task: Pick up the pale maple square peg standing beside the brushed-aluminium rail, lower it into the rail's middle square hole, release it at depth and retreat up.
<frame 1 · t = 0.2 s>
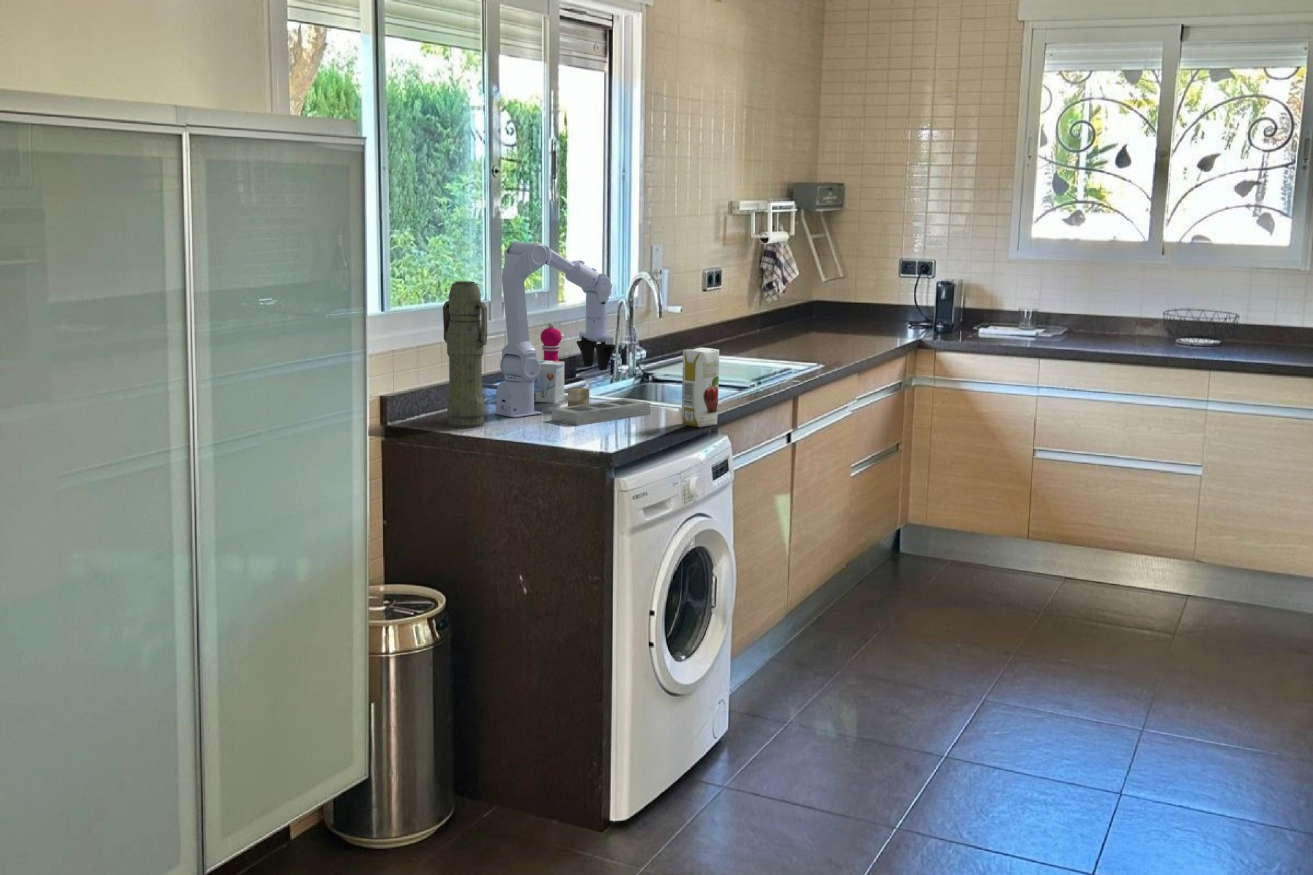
hand: (595, 368, 354), 10 cm above the counter, tool pointing down, fingers open, 7 cm apart
thermos: (465, 425, 322), on the counter
peg: (578, 410, 345), on the counter
pepper mill: (550, 392, 375), on the counter
light bulb box: (542, 401, 361), on the counter
rail: (601, 417, 336), on the counter
juice carton: (699, 425, 329), on the counter
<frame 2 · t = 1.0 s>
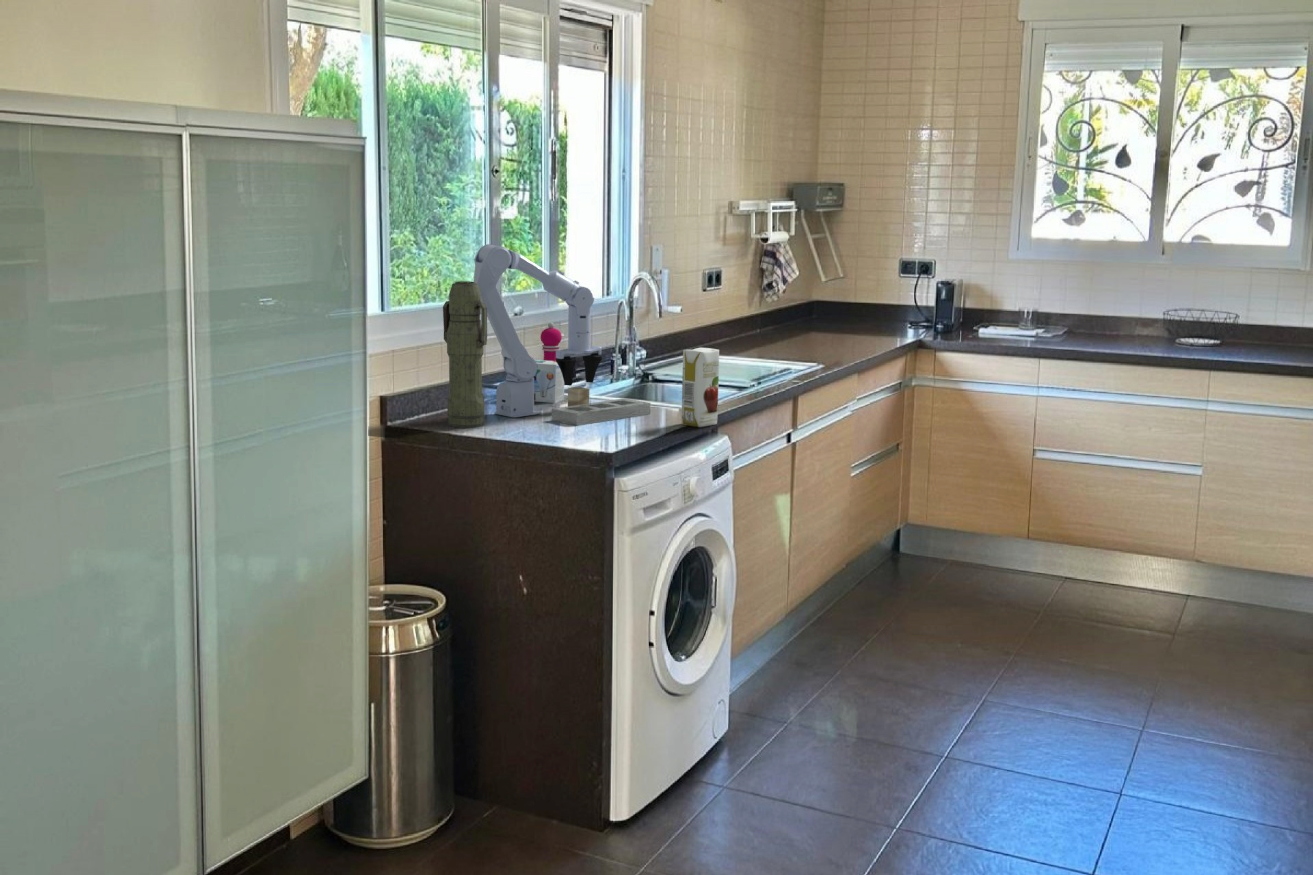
hand: (578, 383, 344), 7 cm above the counter, tool pointing down, fingers open, 7 cm apart
nothing on the counter moved.
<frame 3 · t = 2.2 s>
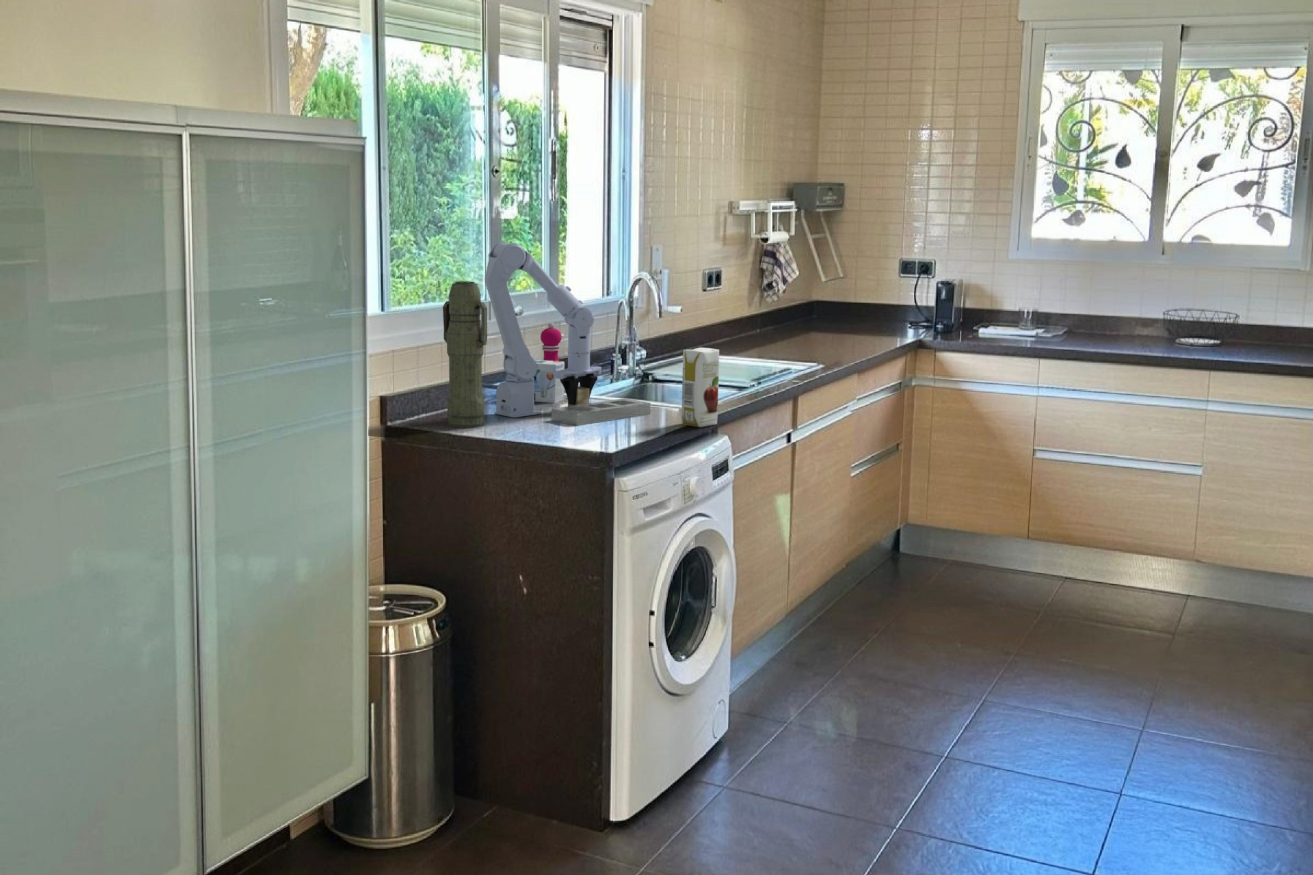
hand: (578, 403, 345), 2 cm above the counter, tool pointing down, fingers closed on peg, 4 cm apart
peg: (578, 410, 345), on the counter, touching gripper
everything else where it was.
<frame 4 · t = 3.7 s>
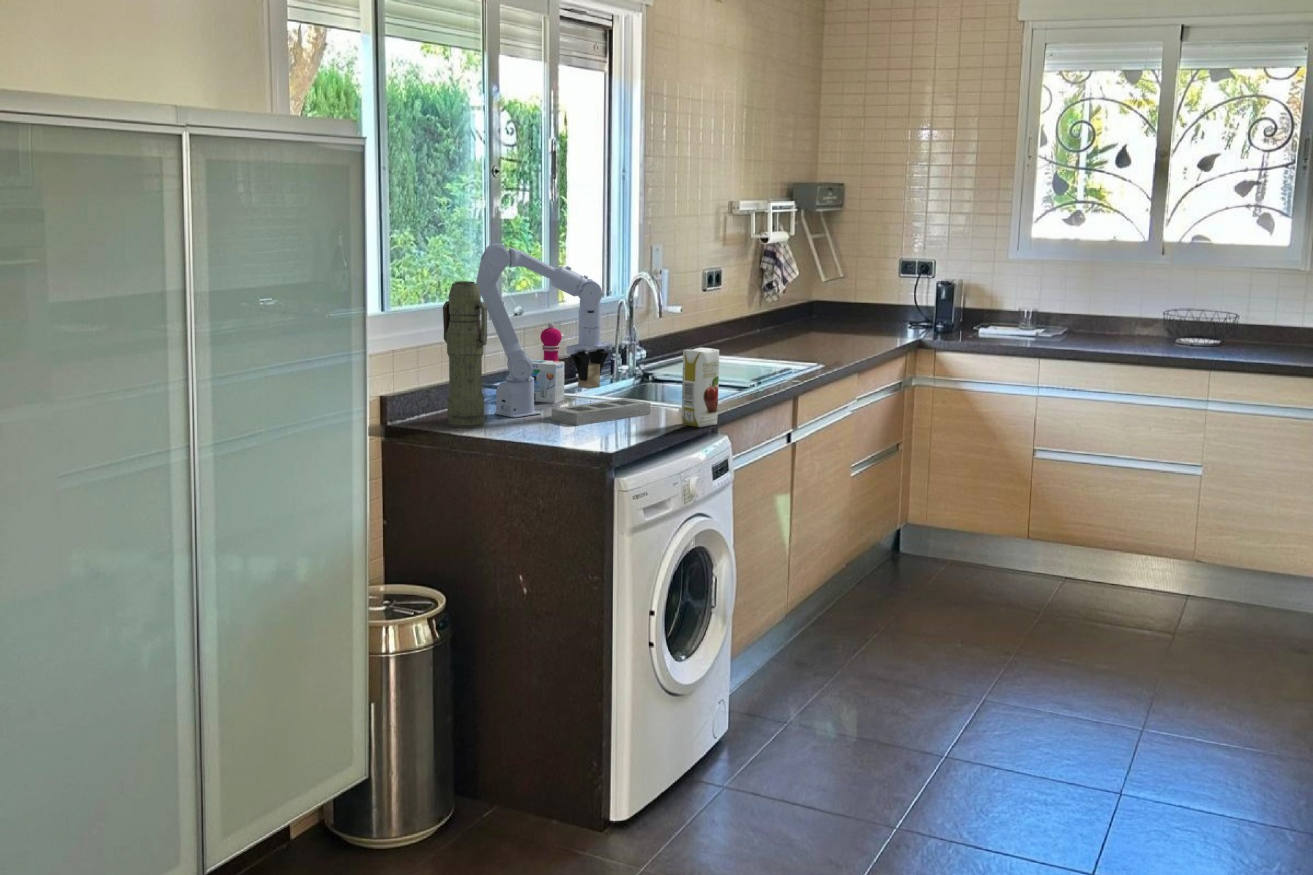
hand: (589, 379, 339), 9 cm above the counter, tool pointing down, fingers closed on peg, 4 cm apart
peg: (588, 387, 340), point 7 cm above the counter, touching gripper
everything else where it was.
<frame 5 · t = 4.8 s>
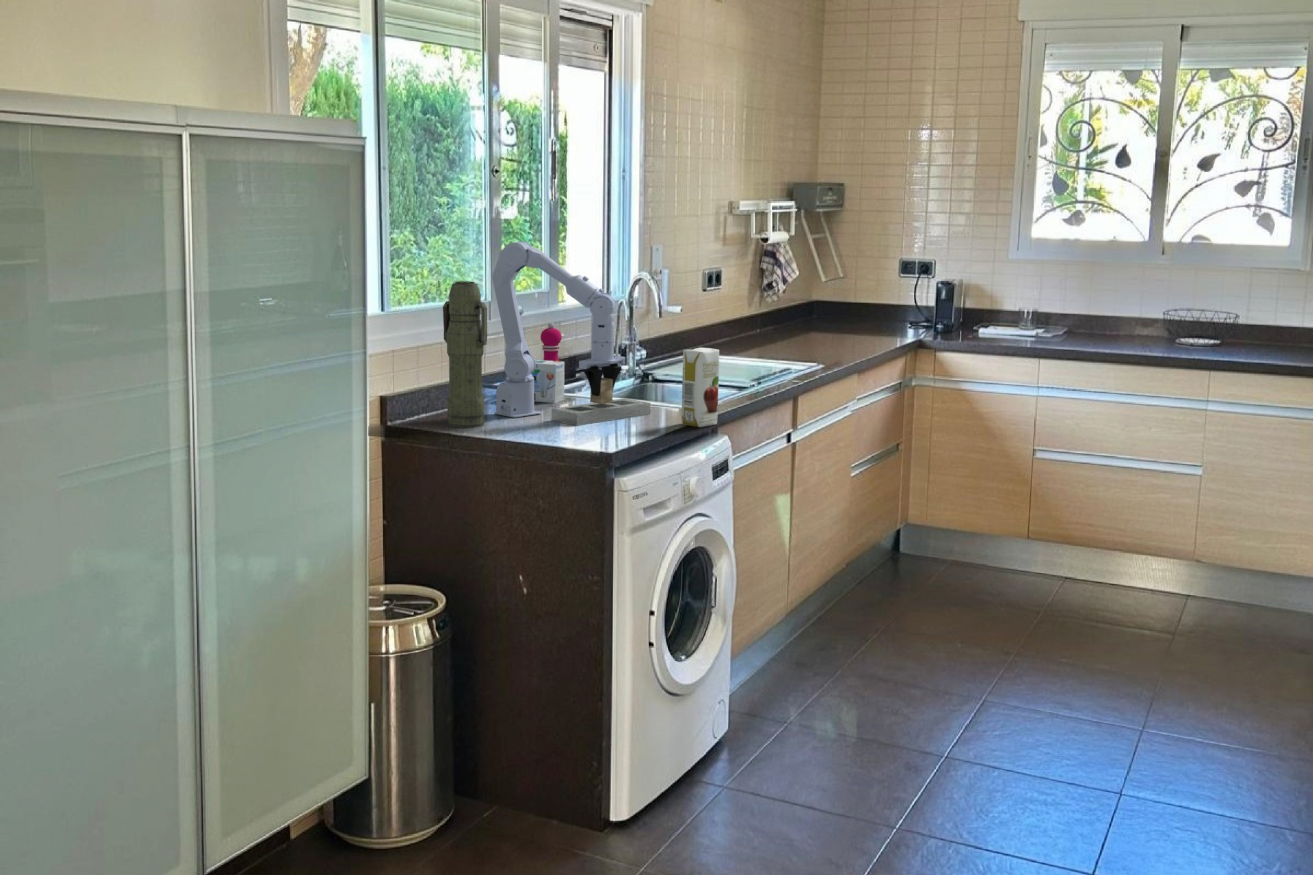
hand: (602, 394, 335), 6 cm above the counter, tool pointing down, fingers closed on peg, 4 cm apart
peg: (601, 402, 336), point 4 cm above the counter, touching gripper
everything else where it was.
when the fingers open (4 cm above the counter, at t = 5.7 s): peg drops 2 cm, resting in rail.
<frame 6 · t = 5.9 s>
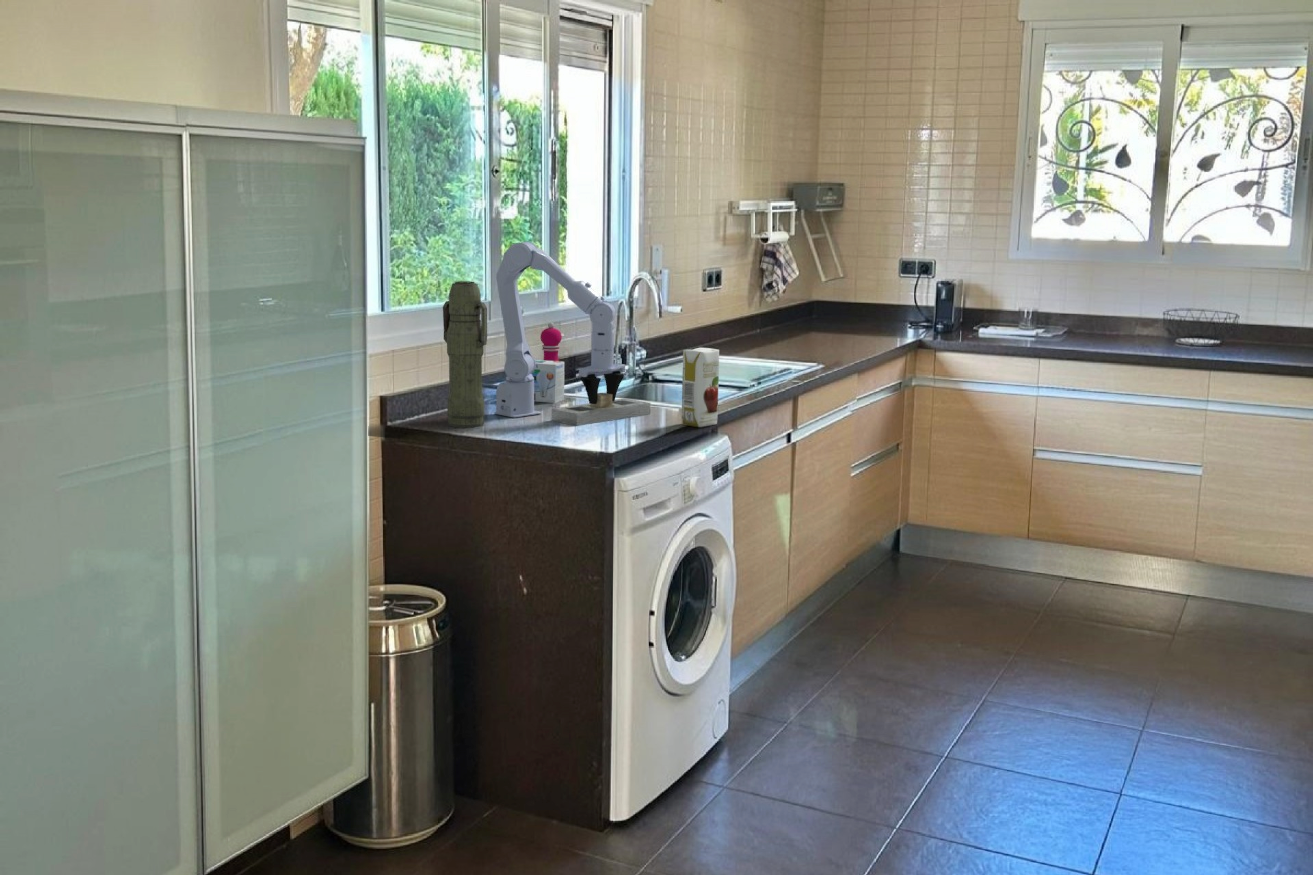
hand: (601, 402, 335), 4 cm above the counter, tool pointing down, fingers open, 6 cm apart
peg: (601, 417, 336), resting in rail
everything else where it was.
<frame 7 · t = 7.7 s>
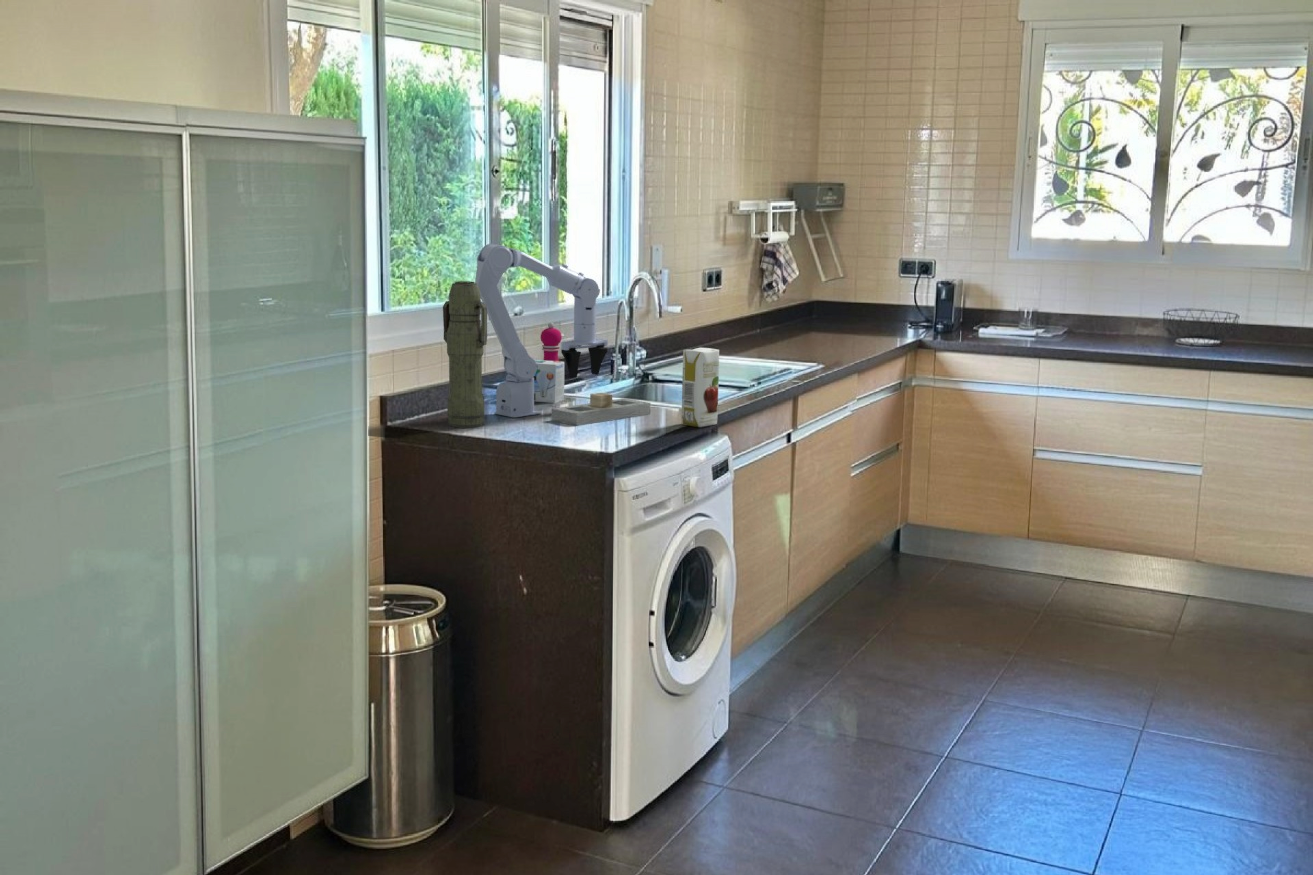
hand: (584, 375, 343), 9 cm above the counter, tool pointing down, fingers open, 7 cm apart
nothing on the counter moved.
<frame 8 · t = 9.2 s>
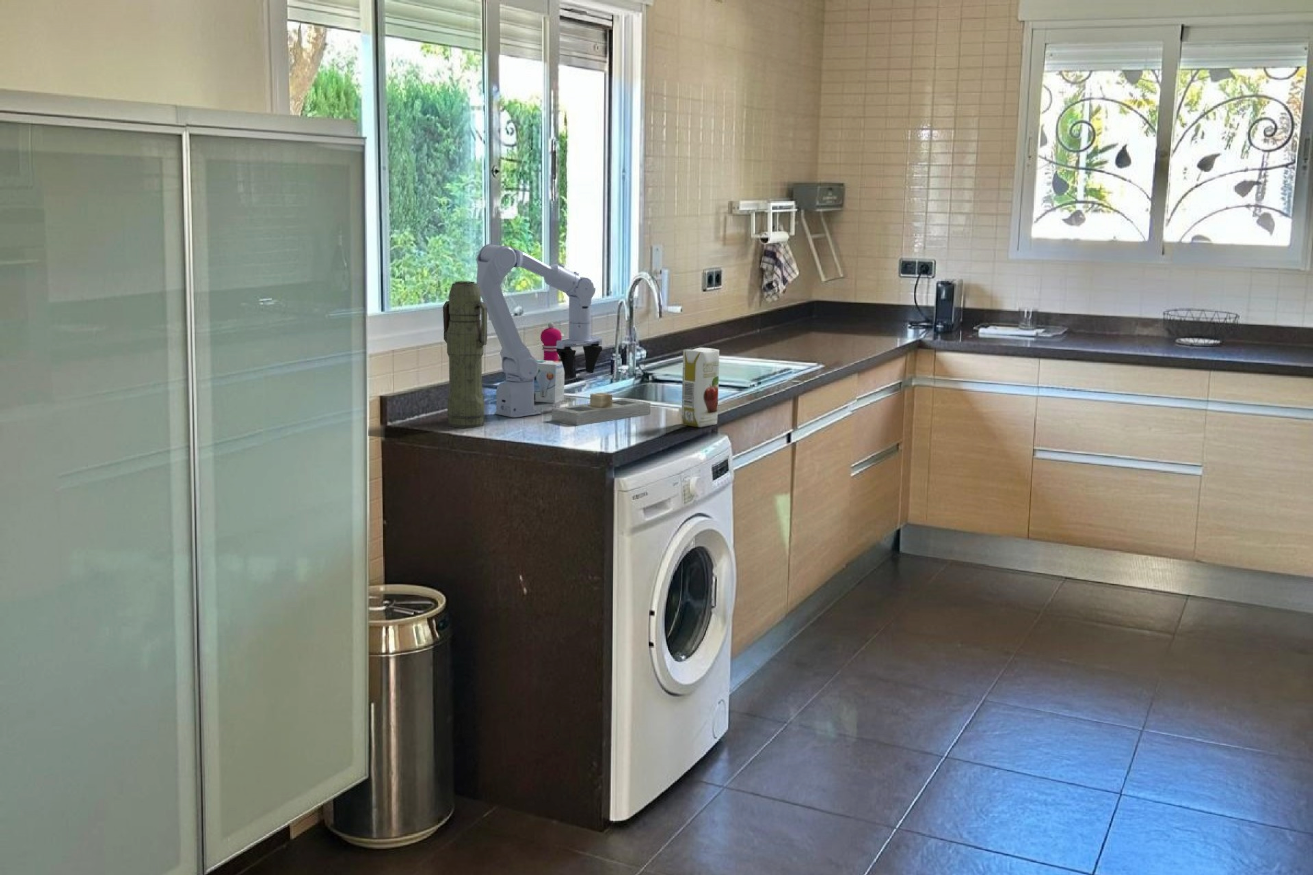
hand: (579, 373, 346), 9 cm above the counter, tool pointing down, fingers open, 7 cm apart
nothing on the counter moved.
at the end: peg 0.3 cm off-centre on the rail, point 0.0 cm above the rail's base; peg tilted 0°; the gripper is holding nothing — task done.
